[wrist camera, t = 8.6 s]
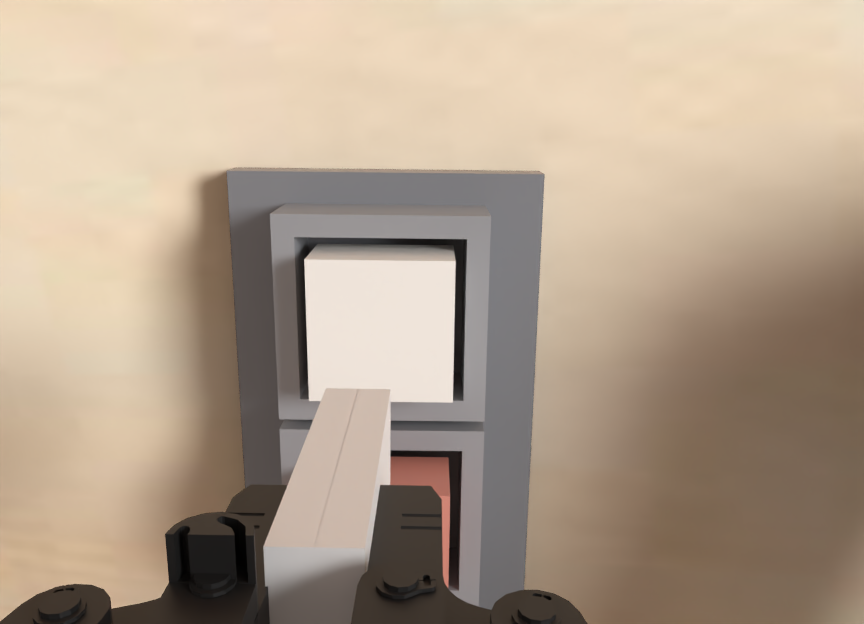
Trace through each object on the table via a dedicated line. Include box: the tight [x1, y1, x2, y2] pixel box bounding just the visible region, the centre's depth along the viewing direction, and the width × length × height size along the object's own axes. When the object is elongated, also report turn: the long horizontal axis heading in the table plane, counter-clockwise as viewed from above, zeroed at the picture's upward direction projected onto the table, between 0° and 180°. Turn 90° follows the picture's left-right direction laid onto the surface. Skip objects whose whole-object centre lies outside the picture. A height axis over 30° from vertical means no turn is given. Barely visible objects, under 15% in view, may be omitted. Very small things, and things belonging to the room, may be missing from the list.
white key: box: [304, 244, 456, 403], centre depth 27 cm, size 5×5×3 cm
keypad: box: [227, 168, 544, 610], centre depth 31 cm, size 26×12×4 cm, turn 179°
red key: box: [390, 457, 450, 587], centre depth 28 cm, size 5×5×3 cm
